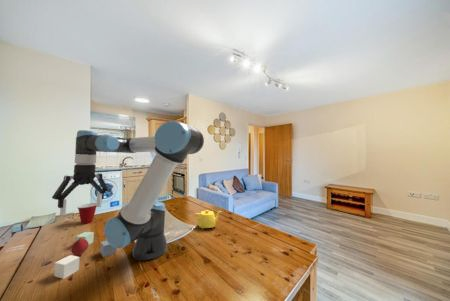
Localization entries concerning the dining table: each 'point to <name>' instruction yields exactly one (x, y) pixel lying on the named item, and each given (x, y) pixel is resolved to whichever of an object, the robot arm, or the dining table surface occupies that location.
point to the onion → (79, 246)
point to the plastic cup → (87, 212)
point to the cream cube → (66, 266)
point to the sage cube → (86, 236)
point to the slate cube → (106, 249)
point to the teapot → (207, 219)
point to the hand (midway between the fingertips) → (82, 210)
